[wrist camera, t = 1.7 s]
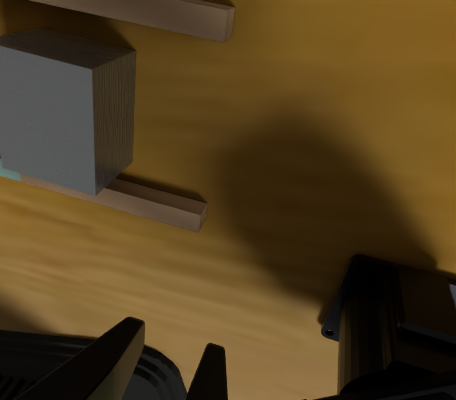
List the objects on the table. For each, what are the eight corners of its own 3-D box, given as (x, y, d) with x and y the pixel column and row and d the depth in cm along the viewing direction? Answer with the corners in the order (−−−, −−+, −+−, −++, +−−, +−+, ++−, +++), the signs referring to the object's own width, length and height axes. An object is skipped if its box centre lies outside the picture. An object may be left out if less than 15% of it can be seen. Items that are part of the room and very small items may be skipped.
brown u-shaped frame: (204, 220, 22) (186, 253, 20) (-86, 138, 25) (-133, 157, 23) (235, 7, 16) (214, 16, 14) (-154, -72, 19) (-230, -77, 16)
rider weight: (133, 160, 22) (95, 196, 19) (53, 137, 22) (2, 168, 19) (137, 49, 18) (92, 69, 15) (43, 26, 19) (-21, 40, 16)
